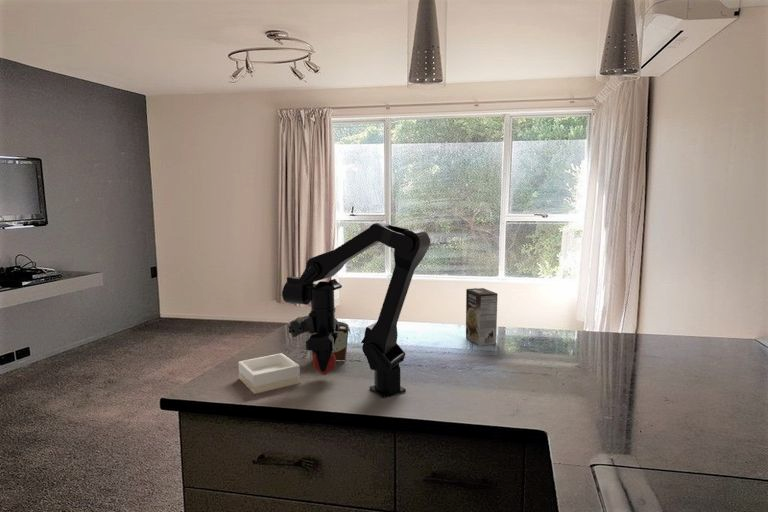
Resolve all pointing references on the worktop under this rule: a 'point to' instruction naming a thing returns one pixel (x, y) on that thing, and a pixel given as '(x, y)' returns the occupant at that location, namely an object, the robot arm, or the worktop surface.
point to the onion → (329, 367)
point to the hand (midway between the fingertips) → (324, 366)
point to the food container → (339, 342)
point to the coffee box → (481, 316)
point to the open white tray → (269, 372)
